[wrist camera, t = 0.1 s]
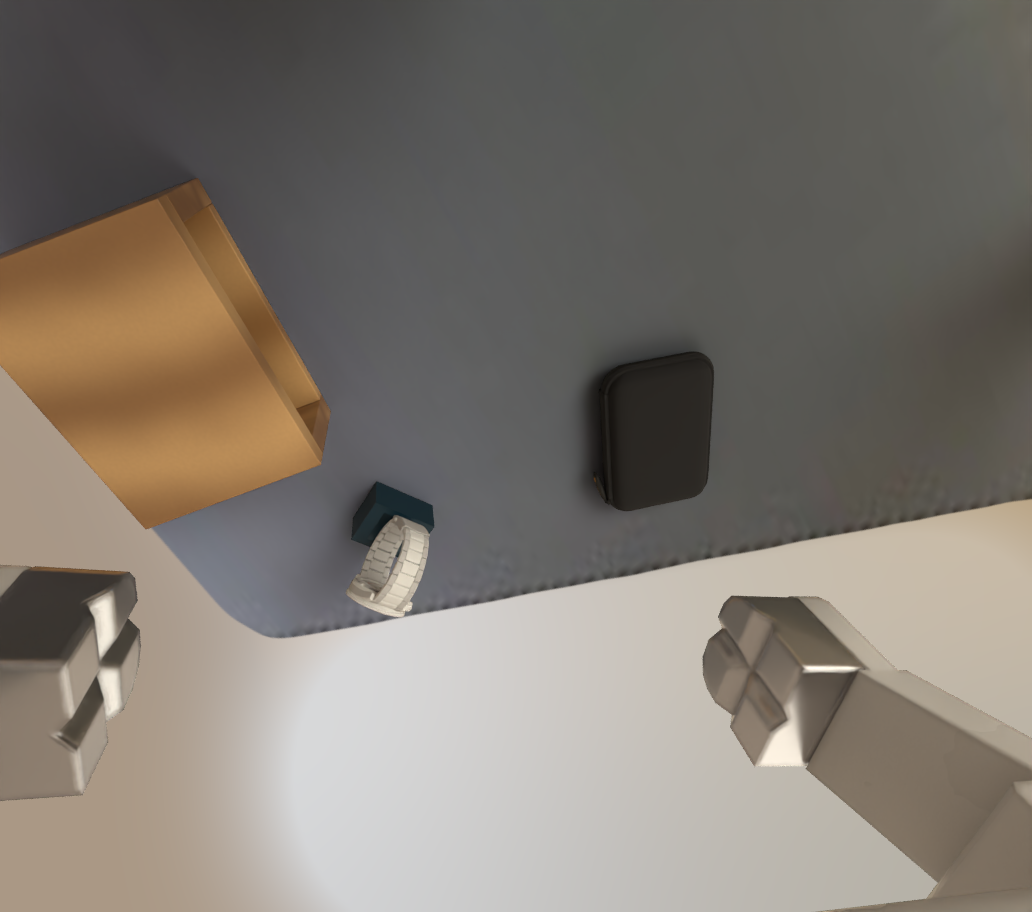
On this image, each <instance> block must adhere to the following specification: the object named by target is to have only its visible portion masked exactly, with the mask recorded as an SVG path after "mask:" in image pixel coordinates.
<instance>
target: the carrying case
mask: <svg viewBox="0 0 1032 912" xmlns="http://www.w3.org/2000/svg"><path fill="white" fill-rule="evenodd" d="M713 385H714V370H713V365H712V362H711V361H710V359H709V358H708V357H707V356H705V355H704V354H702V353H699V352H686V353H681V354H676V355H671V356H666V357H660V358H655V359H650V360H645V361H639V362H634V363H629V364H624V365H620V366H618V367H616V368H614V369H613V370H612V371H610V372H609V373H608V374H607V376H606V377H605V379H604V381H603V383H602V386H601V389H599V394H600V410H601V431H602V451H603V472H604V486H603V484H602V481H601V479H600V477H599V475H598V474H597V473H596V472H594V480H595V483H596V486H597V489H598V491H599V493H600V495H601V497H602V498H603V499H604V501H605V503H607V504H611V505H612V506H613V507H614V508H616V509H618V510H622V511H632V510H636V509H641V508H645V507H650V506H655V505H660V504H664V503H669V502H674V501H679V500H684V499H689V498H692V497H695V496H697V495H698V494H700V493H701V492H702V491H703V489H704V487H705V485H706V483H707V479H708V471H709V454H710V436H711V418H712V402H713ZM606 501H607V502H606Z"/></svg>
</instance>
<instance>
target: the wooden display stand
mask: <svg viewBox="0 0 1032 912" xmlns="http://www.w3.org/2000/svg"><path fill="white" fill-rule="evenodd" d="M0 365H1V367H2V368H3V369H4V370H5V371H6V372H7V373H8V374H9V376H10V377H11V378H12V379H13V380H14V381H15V382H16V383H17V385H18V386H19V387H20V388H21V389H22V390H23V391H24V393H26V395H27V396H28V397H29V398H30V399H31V400H32V402H33V403H34V404H35V405H36V406H37V407H38V408H39V409H40V411H41V412H42V413H43V414H44V415H45V416H46V417H47V419H49V421H50V422H51V423H52V424H53V425H54V426H55V428H56V429H57V430H58V431H59V432H60V433H61V434H62V435H63V436H64V438H65V439H66V440H67V441H68V442H69V443H70V444H71V446H72V447H73V448H74V449H75V450H76V451H77V452H78V454H79V455H80V456H81V457H82V458H83V459H84V460H85V461H86V463H87V464H88V465H89V466H90V467H91V468H92V469H93V470H94V472H95V473H96V474H97V475H98V476H99V477H100V478H101V480H102V481H103V482H104V483H105V484H106V485H107V486H108V487H109V488H110V490H111V491H112V492H113V493H114V494H115V495H116V496H117V498H118V499H119V500H120V501H121V502H122V503H123V504H124V506H125V507H126V508H127V509H128V510H129V511H130V512H131V513H132V514H133V516H134V517H135V518H136V519H137V520H138V521H139V522H140V523H141V525H142V526H143V527H144V528H145V529H149V528H151V527H154V526H157V525H159V524H162V523H165V522H167V521H170V520H173V519H176V518H178V517H181V516H184V515H186V514H189V513H192V512H194V511H197V510H200V509H203V508H205V507H208V506H211V505H213V504H216V503H219V502H221V501H224V500H227V499H229V498H232V497H235V496H238V495H240V494H243V493H246V492H248V491H251V490H254V489H256V488H259V487H262V486H265V485H267V484H270V483H273V482H275V481H278V480H281V479H283V478H286V477H289V476H292V475H294V474H297V473H300V472H302V471H305V470H308V469H310V468H313V467H316V466H318V465H321V461H322V456H323V450H324V445H325V439H326V434H327V429H328V423H329V418H330V413H331V411H330V409H329V407H328V405H327V404H326V402H325V400H324V398H323V397H322V395H321V393H320V391H319V390H318V388H317V386H316V384H315V383H314V381H313V379H312V377H311V376H310V374H309V372H308V370H307V369H306V367H305V365H304V363H303V362H302V360H301V358H300V356H299V355H298V353H297V351H296V349H295V348H294V346H293V344H292V342H291V341H290V339H289V337H288V335H287V334H286V332H285V330H284V328H283V326H282V325H281V323H280V321H279V319H278V318H277V316H276V314H275V312H274V311H273V309H272V307H271V305H270V304H269V302H268V300H267V298H266V297H265V295H264V293H263V291H262V290H261V288H260V286H259V284H258V283H257V281H256V279H255V277H254V276H253V274H252V272H251V270H250V269H249V267H248V265H247V263H246V262H245V260H244V258H243V256H242V254H241V253H240V251H239V249H238V247H237V246H236V244H235V242H234V240H233V239H232V237H231V235H230V233H229V232H228V230H227V228H226V226H225V225H224V223H223V221H222V219H221V218H220V216H219V214H218V212H217V211H216V209H215V207H214V205H213V204H211V200H210V198H209V197H208V195H207V193H206V191H205V190H204V188H203V186H202V184H201V183H200V181H199V179H198V178H195V179H193V180H190V181H188V182H185V183H182V184H180V185H177V186H175V187H172V188H169V189H167V190H164V191H162V192H159V193H156V194H154V195H151V196H149V197H146V198H143V199H141V200H138V201H136V202H133V203H130V204H128V205H125V206H123V207H120V208H117V209H115V210H112V211H110V212H107V213H104V214H102V215H99V216H97V217H94V218H92V219H89V220H86V221H84V222H81V223H79V224H76V225H73V226H71V227H68V228H66V229H63V230H60V231H58V232H55V233H53V234H50V235H47V236H45V237H42V238H40V239H37V240H34V241H32V242H29V243H27V244H24V245H21V246H19V247H16V248H14V249H11V250H9V251H6V252H4V253H2V254H0Z"/></svg>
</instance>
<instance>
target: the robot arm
mask: <svg viewBox="0 0 1032 912" xmlns="http://www.w3.org/2000/svg"><path fill="white" fill-rule="evenodd" d="M136 602H137V591H136V582H135V578H134V577H133V575H132V574H131V573H130V572H121V571H105V570H87V569H71V568H52V567H36V566H35V567H33V568H32V567H29V566H11V565H0V801H5V800H20V799H33V798H49V797H64V796H78V795H83V793H84V791H85V789H86V787H87V785H88V782H89V781H90V778H91V776H92V774H93V772H94V770H95V768H96V766H97V764H98V762H99V760H100V758H101V756H102V754H103V751H104V750H105V747H106V745H107V743H108V736H107V727H106V722H107V721H108V720H110V719H111V718H113V717H114V716H115V715H117V714H118V713H120V712H121V711H122V710H124V707H125V705H126V703H127V700H128V698H129V696H130V694H131V692H132V689H133V686H134V682H135V678H136V674H137V671H138V667H139V658H140V647H141V644H140V630H139V629H138V628H137V627H136V626H135V625H134V624H133V623H132V622H131V621H130V620H129V619H128V617H129V615H130V613H131V611H132V610H133V608H134V606H135V604H136ZM718 618H719V621H720V624H721V626H722V629H721V630H720V631H719V632H717V633H716V634H715V635H714V636H713V637H711V638H710V639H709V640H708V643H707V646H706V649H705V652H704V655H703V676H704V680H705V683H706V686H707V689H708V691H709V692H710V694H711V696H712V698H713V699H714V701H715V702H716V703H717V704H718V705H719V706H721V707H722V708H723V709H725V710H726V711H728V712H729V713H730V714H732V719H731V726H730V727H731V729H732V731H733V732H734V734H735V735H736V737H737V739H738V741H739V742H740V744H741V745H742V747H743V749H744V750H745V752H746V754H747V755H748V757H749V758H750V760H751V762H752V763H753V765H754V766H807V768H806V769H807V770H808V771H809V772H810V773H811V774H812V775H814V776H815V777H816V778H817V779H818V780H819V781H821V782H822V783H823V784H824V785H825V786H826V787H828V788H829V789H830V790H831V791H832V792H833V793H834V794H836V795H837V796H838V797H839V798H840V799H841V800H843V801H844V802H845V803H846V804H847V805H848V806H850V807H851V808H852V809H853V810H854V811H855V812H856V813H858V814H859V815H860V816H861V817H862V818H863V819H865V820H866V821H867V822H868V823H869V824H870V825H872V826H873V827H874V828H875V829H876V830H877V831H878V832H880V833H881V834H882V835H883V836H884V837H885V838H887V839H888V840H889V841H890V842H891V843H892V844H894V845H895V846H896V847H897V848H898V849H899V850H901V851H902V852H903V853H904V854H905V855H906V856H907V857H909V858H910V859H911V860H912V861H913V862H914V863H916V864H917V865H918V866H919V867H920V868H921V869H923V870H924V871H925V872H926V873H927V874H928V875H930V876H931V877H932V878H933V879H934V880H935V881H937V882H938V884H937V885H936V886H935V888H934V889H933V890H932V892H931V893H930V894H929V896H928V897H927V898H926V899H922V900H912V901H904V902H896V903H887V904H878V905H870V906H861V907H853V908H845V909H835V910H827V911H819V912H1032V738H1031V737H1029V736H1027V735H1025V734H1023V733H1021V732H1019V731H1018V730H1016V729H1014V728H1012V727H1010V726H1008V725H1007V724H1004V723H1003V722H1001V721H999V720H997V719H995V718H994V717H992V716H990V715H988V714H986V713H984V712H983V711H981V710H979V709H977V708H975V707H973V706H971V705H970V704H968V703H966V702H964V701H962V700H960V699H958V698H957V697H955V696H953V695H951V694H949V693H947V692H946V691H944V690H942V689H940V688H938V687H936V686H934V685H933V684H931V683H929V682H927V681H925V680H923V679H921V678H919V677H918V676H916V675H914V674H912V673H910V672H908V671H907V670H903V671H902V670H897V669H896V668H895V667H894V666H893V665H892V664H891V663H890V662H889V661H888V660H887V659H886V658H885V657H884V656H883V655H882V654H881V653H880V652H879V651H878V650H877V649H876V648H875V647H874V646H873V645H872V644H871V643H870V642H869V641H868V640H867V639H866V638H865V637H864V636H863V635H862V634H861V633H860V632H859V631H858V630H857V629H856V628H855V627H854V626H853V625H852V624H850V622H848V621H847V619H846V618H845V617H844V616H842V615H841V613H839V612H838V611H837V610H836V609H835V608H834V607H833V606H832V605H831V604H830V603H829V602H828V601H826V600H824V599H822V598H819V597H793V596H791V597H787V598H785V597H756V596H755V597H754V596H731V597H730V598H729V599H728V600H727V601H726V602H725V603H724V604H723V606H722V609H721V611H720V613H719V616H718Z"/></svg>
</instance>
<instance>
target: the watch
mask: <svg viewBox="0 0 1032 912" xmlns="http://www.w3.org/2000/svg"><path fill="white" fill-rule="evenodd" d="M433 528H434V518H433V507H432V505H430V504H428V503H426V502H423V501H421V500H419V499H416V498H414V497H412V496H409V495H407V494H405V493H402V492H400V491H398V490H395V489H393V488H391V487H388V486H386V485H384V484H381V483H379V482H376V483H375V485H374V486H373V488H372V489H371V491H370V493H369V494H368V496H367V497H366V499H365V500H364V502H363V503H362V505H361V506H360V508H359V509H358V511H357V512H356V514H355V516H354V517H353V527H352V538H351V540H354V541H356V542H359V543H362V544H364V545H367V546H369V547H370V549H371V550H369V552H368V554H367V556H366V558H365V561H364V564H363V567H362V571H361V573H360V575H359V574H357V575H356V577H355V578H354V579H353V580H352V582H351V584H350V587H349V588H348V589H347V591H346V594H347V595H348V596H349V597H350V598H351V599H353V600H354V601H356V602H357V603H359V604H361V605H363V606H365V607H367V608H369V609H372V610H374V611H377V612H379V613H381V614H385V615H389V616H394V617H403V616H404V614H405V611H410V610H411V608H412V602H410V599H411V597H412V596H413V594H414V592H415V590H416V588H417V586H418V583H419V582H420V580H421V577H422V574H423V570H424V567H425V563H426V559H427V554H428V547H429V542H428V537H429V534H430V532H431V531H432V529H433ZM372 550H373V551H372ZM395 556H396V557H398V559H397V561H398V562H396V564H395V566H394V568H393V570H392V573H391V574H390V576H389V578H388V575H389V571H390V569H388V568H391V565H392V562H393V558H394V557H395ZM391 557H392V558H391ZM373 558H374V559H373ZM375 559H377V560H375ZM367 560H368V561H367ZM378 560H379V561H378ZM369 561H370V562H369ZM381 561H382V562H381ZM408 561H409V562H408ZM383 562H385V563H383ZM411 562H412V563H411ZM414 563H415V564H414ZM416 564H417V565H416ZM386 567H387V568H386ZM370 569H371V570H370ZM418 569H419V570H418ZM401 572H402V573H401ZM381 573H382V574H381ZM404 573H405V574H404ZM407 574H408V575H407ZM410 575H411V576H410ZM412 576H413V577H412ZM387 578H388V579H387Z"/></svg>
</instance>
